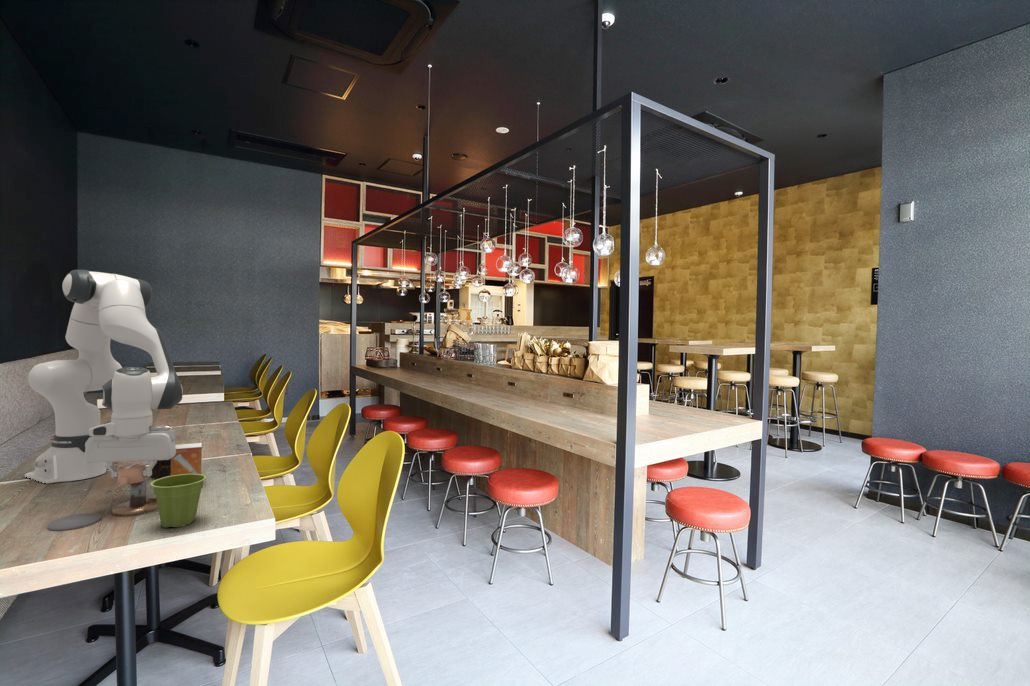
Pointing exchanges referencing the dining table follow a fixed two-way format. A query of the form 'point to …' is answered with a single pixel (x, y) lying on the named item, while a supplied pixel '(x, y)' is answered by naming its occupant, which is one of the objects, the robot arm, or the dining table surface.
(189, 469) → the small box
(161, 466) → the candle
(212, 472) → the dining table surface
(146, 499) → the brown wide round part
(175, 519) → the plant pot
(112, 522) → the dining table surface
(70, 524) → the pad
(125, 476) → the cap
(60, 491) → the dining table surface
